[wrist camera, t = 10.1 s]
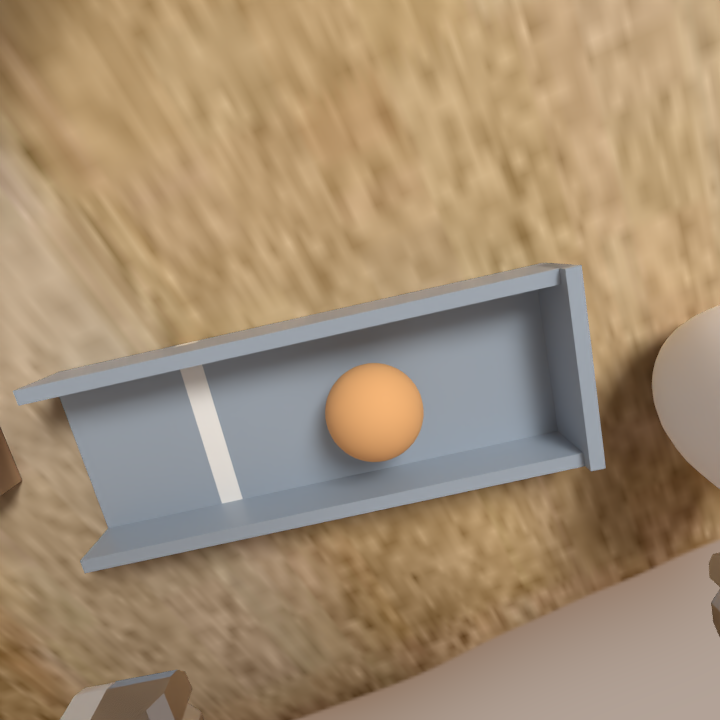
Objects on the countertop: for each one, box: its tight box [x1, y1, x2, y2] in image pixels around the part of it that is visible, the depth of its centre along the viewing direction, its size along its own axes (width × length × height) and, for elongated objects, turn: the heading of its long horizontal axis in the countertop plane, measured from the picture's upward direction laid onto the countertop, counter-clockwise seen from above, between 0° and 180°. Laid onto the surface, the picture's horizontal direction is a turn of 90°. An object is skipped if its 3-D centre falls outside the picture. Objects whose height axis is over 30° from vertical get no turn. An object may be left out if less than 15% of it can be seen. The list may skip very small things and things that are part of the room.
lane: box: [13, 263, 606, 573], centre depth 21 cm, size 8×22×4 cm, turn 103°
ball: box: [325, 363, 424, 462], centre depth 20 cm, size 4×4×4 cm
